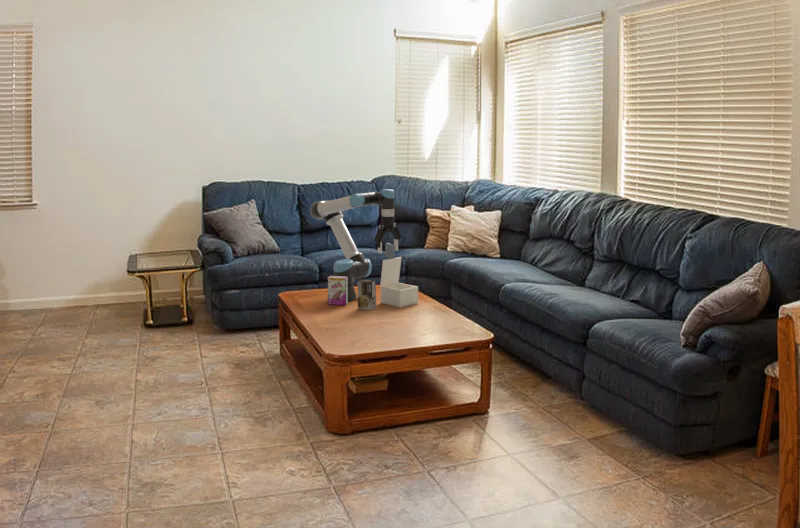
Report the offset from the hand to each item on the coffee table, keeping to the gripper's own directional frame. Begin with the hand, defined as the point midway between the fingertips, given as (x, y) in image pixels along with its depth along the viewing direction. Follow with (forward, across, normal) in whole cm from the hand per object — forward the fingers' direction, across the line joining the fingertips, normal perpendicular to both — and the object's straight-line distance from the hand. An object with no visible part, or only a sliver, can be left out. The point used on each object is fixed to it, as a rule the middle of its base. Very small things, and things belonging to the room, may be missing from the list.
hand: (388, 251), depth 458 cm
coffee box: (+30, -22, -5) cm, 38 cm away
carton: (+29, 0, -9) cm, 31 cm away
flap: (+8, 0, -3) cm, 8 cm away
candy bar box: (+30, -27, +15) cm, 43 cm away
